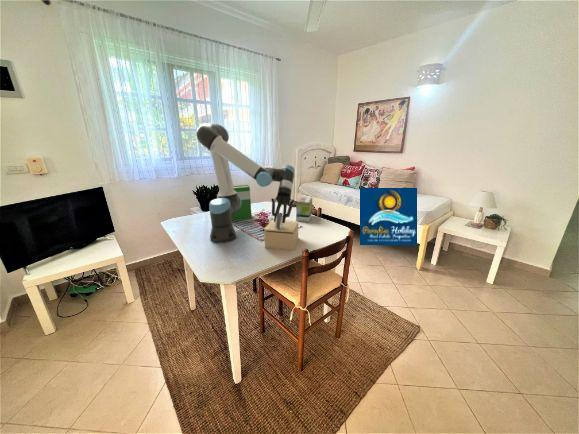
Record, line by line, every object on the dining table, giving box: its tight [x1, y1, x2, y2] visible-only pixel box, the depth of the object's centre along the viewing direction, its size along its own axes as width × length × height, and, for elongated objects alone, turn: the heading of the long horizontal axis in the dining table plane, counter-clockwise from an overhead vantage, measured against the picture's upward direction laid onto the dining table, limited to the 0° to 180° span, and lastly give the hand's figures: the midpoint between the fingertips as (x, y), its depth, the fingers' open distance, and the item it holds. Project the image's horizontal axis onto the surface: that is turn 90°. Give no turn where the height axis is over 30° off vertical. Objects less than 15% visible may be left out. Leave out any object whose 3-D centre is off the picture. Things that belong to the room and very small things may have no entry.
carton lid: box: [263, 212, 299, 233], centre depth 125 cm, size 16×16×9 cm
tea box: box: [295, 196, 313, 223], centre depth 166 cm, size 15×10×15 cm
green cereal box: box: [231, 184, 253, 222], centre depth 166 cm, size 18×7×24 cm, turn 107°
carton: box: [263, 224, 299, 251], centre depth 129 cm, size 16×16×10 cm
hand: (278, 228), depth 118 cm, fingers open, 2 cm apart
